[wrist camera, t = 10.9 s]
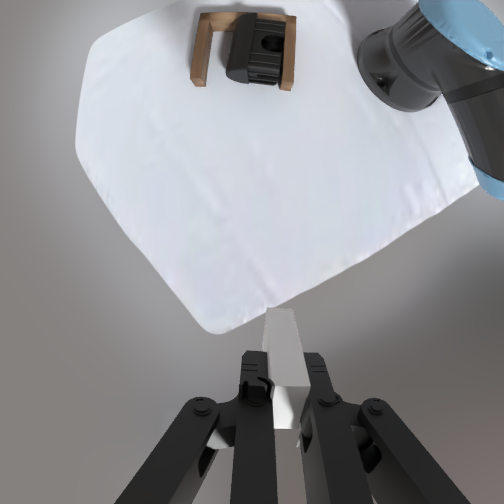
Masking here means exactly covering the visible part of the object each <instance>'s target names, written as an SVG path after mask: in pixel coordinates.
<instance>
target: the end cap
mask: <svg viewBox="0 0 504 504" xmlns="http://www.w3.org/2000/svg"><path fill="white" fill-rule="evenodd" d="M285 28H286V22H284V21H277V20H269V19H260V18H257V13H246V14H243V15H241V16H239V17H238V18H237V20H236V23H235V28H234V33H233V37H232V42H231V47H230V52H229V57H228V62H227V68H226V76H227V77H228V78H229V79H231V80H234V81H237V82H240V83H246V84H249V83H256V84H264V85H272V86H273V85H276V84H277V81H278V76H279V70H280V63H281V56H282V53H281V51H282V44H283V38H284V35H285Z"/></svg>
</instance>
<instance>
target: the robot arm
mask: <svg viewBox="0 0 504 504" xmlns="http://www.w3.org/2000/svg"><path fill="white" fill-rule="evenodd" d="M358 66H359V70H360V73H361V75H362V77H363V79H364V81H365V83H366V84H367V86H368V87H369V89H370V90H371V91H372V92H373V93H374V94H375V95H376V96H377V97H378V98H379V99H380V100H381V101H383V102H384V103H385V104H387V105H389V106H390V107H392V108H394V109H397V110H400V111H404V112H416V111H420V110H423V109H426V108H428V107H429V106H431V105H432V104H433V103H434V102H435V101H436V99H437V98H438V96H439V95H440V94H441V93H442V94H443V96H444V98H445V100H446V102H447V104H448V106H449V108H450V110H451V113H452V115H453V117H454V119H455V122H456V124H457V126H458V129H459V131H460V134H461V136H462V139H463V141H464V144H465V147H466V149H467V152H468V155H469V156H468V158H469V161H470V163H471V165H472V166H473V168H474V170H475V173H476V176H477V179H478V182H479V184H480V185H481V187H482V188H483V189H484V190H486V192H487V193H488V194H490V195H491V196H493V197H495V198H497V199H500V200H504V25H503V24H502V23H501V21H500V20H499V19H498V18H497V17H496V16H495V15H494V13H493V12H492V11H491V10H490V9H489V8H488V7H486V6H485V5H484V4H483V3H482V2H481V1H479V0H419V2H418V3H417V4H416V5H415V6H414V7H413V8H412V9H411V10H410V11H409V12H407V13H406V14H405V15H404V16H403V17H402V18H401V19H400V20H399V21H398V22H397V23H396V24H395V25H394V26H393V27H389V28H386V29H382V30H378V31H375V32H373V33H372V34H370V35H369V36H368V37H367V38H366V39H365V40H364V41H363V42H362V44H361V45H360V48H359V50H358ZM262 349H263V350H262V351H263V352H261V351H246V352H245V353H244V355H243V356H242V364H241V376H240V384H239V393H238V395H237V397H236V398H234V399H233V400H231V401H229V402H225V403H218V404H217V403H216V402H215V401H214V400H212V399H210V398H206V397H195V398H193V399H190V400H189V401H188V402H187V403H185V405H184V406H183V408H182V409H181V411H180V412H179V414H178V415H177V417H176V418H175V419H174V421H173V422H172V424H171V425H170V427H169V428H168V430H167V431H166V432H165V434H164V436H163V437H162V438H161V440H160V441H159V442H158V444H157V445H156V447H155V448H154V450H153V451H152V452H151V454H150V455H149V457H148V458H147V459H146V461H145V462H144V464H143V465H142V466H141V468H140V469H139V471H138V472H137V473H136V475H135V476H134V477H133V479H132V480H131V482H130V483H129V484H128V486H127V487H126V488H125V490H124V491H123V492H122V494H121V495H120V496H119V498H118V499H117V500H116V502H115V503H114V504H192V502H193V500H194V498H195V496H196V494H197V493H198V490H199V489H200V487H201V485H202V483H203V480H204V479H205V477H206V475H207V472H208V471H209V469H210V467H211V465H212V463H213V461H214V459H215V457H216V454H217V453H218V450H219V449H221V448H227V447H232V446H234V459H233V472H232V484H231V496H230V497H231V499H230V504H278V498H277V475H276V456H275V435H274V428H280V429H286V428H287V429H291V428H292V429H293V428H294V429H295V428H298V427H299V424H300V423H301V432H300V435H299V438H298V441H297V444H296V447H299V444H300V447H301V455H302V464H303V472H304V480H305V489H306V498H307V504H374V503H373V499H372V495H373V497H374V499H375V500H376V502H377V504H471V503H470V502H469V501H468V500H467V499H466V497H465V496H464V495H463V494H462V492H461V491H460V490H459V489H458V488H457V486H456V485H455V484H454V483H453V482H452V480H451V479H450V478H449V477H448V476H447V474H446V473H445V472H444V471H443V469H442V468H441V467H440V466H439V464H438V463H437V462H436V461H435V460H434V458H433V457H432V456H431V455H430V454H429V452H428V451H427V450H426V449H425V448H424V446H423V445H422V444H421V443H420V441H419V440H418V439H417V438H416V437H415V435H414V434H413V433H412V432H411V431H410V429H408V427H407V426H406V425H405V423H404V422H403V421H402V420H401V419H400V418H399V416H398V415H397V414H396V413H395V412H394V410H393V409H392V408H391V407H390V406H389V405H388V403H386V402H385V401H383V400H381V399H378V398H370V399H367V400H365V401H364V402H363V403H362V405H357V404H351V403H347V402H344V401H343V400H342V398H341V396H340V395H338V394H337V393H335V392H334V390H333V387H332V383H331V380H330V377H329V374H328V372H327V368H326V365H325V362H324V359H323V358H322V357H321V356H320V355H319V354H318V353H303V351H302V347H301V342H300V338H299V334H298V329H297V325H296V321H295V317H294V313H293V309H282V308H267V310H266V319H265V328H264V337H263V345H262ZM371 494H372V495H371Z"/></svg>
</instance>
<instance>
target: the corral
mask: <svg viewBox="0 0 504 504" xmlns="http://www.w3.org/2000/svg"><path fill="white" fill-rule="evenodd" d="M246 13H248V12H215V13H201V14H200V19H199V24H198V30H197V35H196V41H195V47H194V53H193V60H192V66H191V73H190V79H191V81H192V82H193V83H194V85H195V86H196V87H206V79H207V71H208V64H209V56H210V49H211V42H212V36H213V31H234V28H235V23H236V20H237V18H238V17H239V16H241V15H243V14H246ZM257 18H260V19H269V20H277V21H284V22H286V28H285V35H284V38H283V51H282V67H281V83H280V90H285V91H290V90H291V88H292V85H293V83H294V64H295V42H296V16H289V15H279V14H267V13H257Z"/></svg>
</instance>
